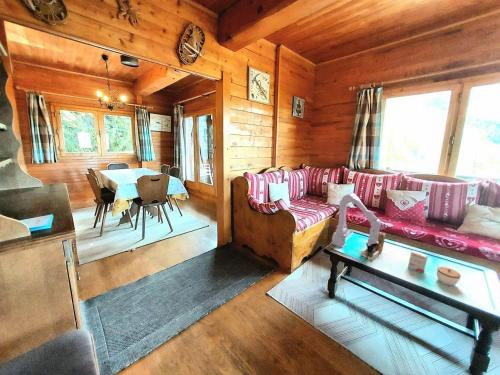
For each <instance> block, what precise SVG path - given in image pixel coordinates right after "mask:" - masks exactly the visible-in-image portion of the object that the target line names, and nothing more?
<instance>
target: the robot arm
mask: <svg viewBox="0 0 500 375" xmlns="http://www.w3.org/2000/svg"><path fill="white" fill-rule="evenodd" d="M350 203H351V204H352V205H355V206H356V207H357V208H359V209H360V210H361V211H362V212H363V216H364V217H365V219H366V220H367V221H368V222H369V224H370V231H369V236H368V239H367V242H366V243H365V244H366V247H367V249H368V252H369V253H371V252H372V250H373V248H374V247H376V245H377V244H378V243H379V242H378V241H377V240H378V235H379V232H380V228H381V227H380V226H382V224H383V223H382V220H381V219H380V218H378V217H377V216H376V215H375V214H374V211H371V210H368V209H367V207H366V206H365V205H364V204H363V202H362V201H361V199H360V198H359V196H357V194H356V193H354V192H350V193H348V194H346V195H343V197H342V198H341V199H340V201H339V206H338V207H339V208H338V210H339V212H338V223H337V226H336V229H335V232H333V234H332V237H331V243H330V244H332V245H334V246H337V247H339V248H344V247H345V246H347V244H346V236H347V234H346V233H347V232H348V230H349V229H348V227H347V207H348V206H347V205H348V204H350Z"/></svg>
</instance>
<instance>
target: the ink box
mask: <svg viewBox="0 0 500 375" xmlns="http://www.w3.org/2000/svg"><path fill="white" fill-rule="evenodd" d="M428 256H429V255H428V254H425V253H421V252H419V251H417V250H412V251H411V253H410V256H409V261H408V265H407V268H408V269H411V270H414V271H416V272H419V273H421V274H423V273H424V272H425V268H426V265H427V261H428Z"/></svg>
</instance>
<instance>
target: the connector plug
mask: <svg viewBox="0 0 500 375" xmlns="http://www.w3.org/2000/svg"><path fill="white" fill-rule="evenodd" d="M375 252H376V251H375V247H374V248H373V250H372V252H371V253H369V252H368V249H367V254H368V255H367V256H366V257H365V258H367V257H368V256H369V255H371V256H373V254H374V253H375Z"/></svg>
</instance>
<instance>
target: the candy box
mask: <svg viewBox="0 0 500 375" xmlns="http://www.w3.org/2000/svg"><path fill="white" fill-rule="evenodd" d="M385 238H386V233H385V232H381V231H379V235H378V240H377V241H378V242H379V243H378V244H377V245H376V247H375V252H376V251H379V253H383V249H384V244H385Z"/></svg>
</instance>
